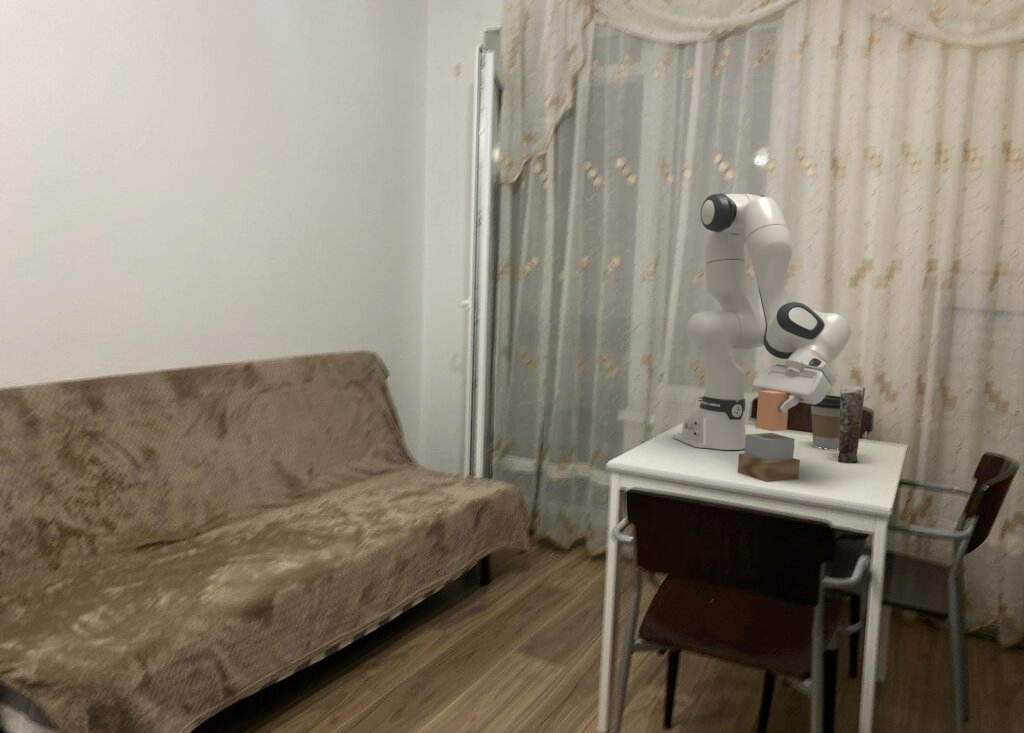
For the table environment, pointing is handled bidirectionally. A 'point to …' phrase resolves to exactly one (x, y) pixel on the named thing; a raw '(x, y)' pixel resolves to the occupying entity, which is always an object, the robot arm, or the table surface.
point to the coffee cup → (826, 422)
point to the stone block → (850, 421)
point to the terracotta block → (771, 410)
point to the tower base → (768, 468)
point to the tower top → (769, 446)
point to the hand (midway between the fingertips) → (770, 408)
